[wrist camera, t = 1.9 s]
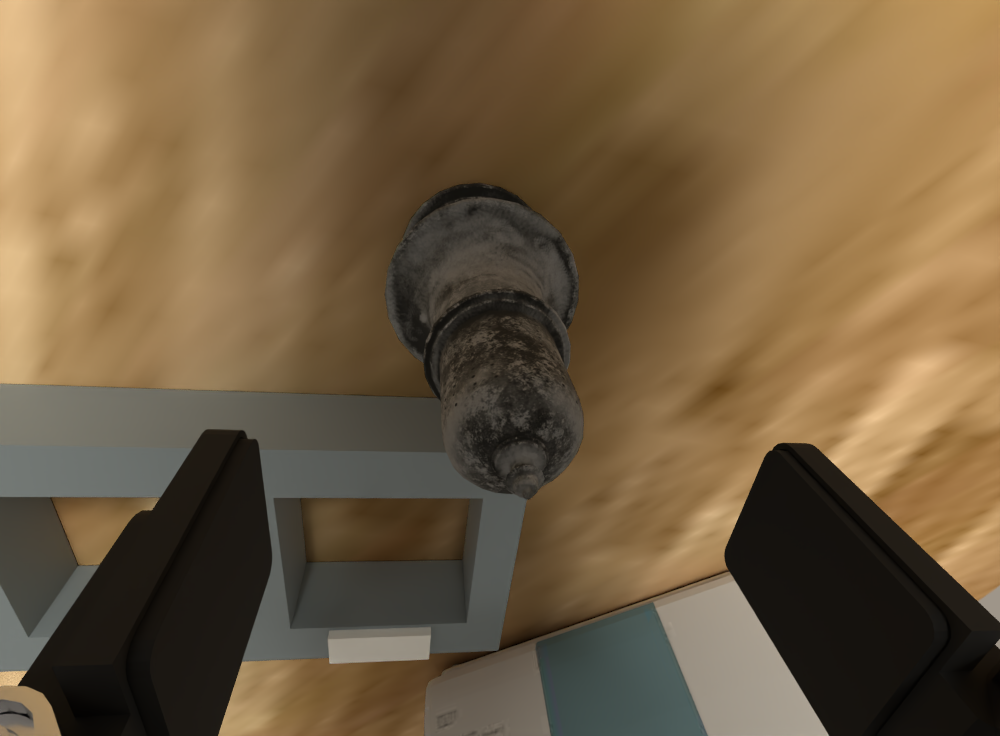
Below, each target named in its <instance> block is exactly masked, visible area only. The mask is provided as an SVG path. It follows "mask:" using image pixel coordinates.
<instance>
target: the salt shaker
mask: <svg viewBox="0 0 1000 736" xmlns="http://www.w3.org/2000/svg"><path fill="white" fill-rule="evenodd" d="M578 291H579V276H578V272H577V268H576V264H575V260H574V256H573V253H572V252H571V250H570V248H569V247H568V245H567V243H566V242H565V240H564V238H563V237H562V235H561V233H560V232H559V231H558V230H557V229H556V228H555V227H554V226H553V225H551V224H550V223H549V222H548V221H547V220H546V219H545V218H544V217H543V216H542V215H541V214H539V213H537V212H535V211H533V210H532V209H531V208H530V207H529V206H528V205H527V204H526V203H525V202H523V201H522V200H521V199H520V198H519V197H518V196H516V195H514V194H512V193H510V192H508V191H507V190H505V189H503V188H501V187H497V186H492V185H487V184H482V183H474V184H461V185H457V186H454V187H451V188H449V189H446V190H443V191H440V192H439V193H437V194H436V195H434V196H433V197H432V198H430V199H429V200H427V201H426V202H425V203H423V204H422V206H421V207H420V208H419V209H418V211H417V212H416V213H415V214H414V216H413V217H412V218H411V220H410V222H409V224H408V227H407V229H406V231H405V234H404V236H403V240H402V241H401V242H400V243H399V245H398V246H397V248H396V251H395V253H394V255H393V258H392V260H391V263H390V265H389V267H388V270H387V279H386V288H385V299H386V305H387V311H388V317H389V320H390V322H391V324H392V326H393V328H394V330H395V332H396V334H397V336H398V338H399V340H400V341H401V342H402V343H403V345H404V346H405V347H406V348H407V349H408V350H409V351H410V353H411V354H412V355H413V356H414V357H415V358H417V359H418V360H420V361H421V362H423V363H424V371H425V377H426V379H427V382H428V384H429V386H430V388H431V390H432V392H433V393H434V395H435V396H436V397H437V398H438V399H439V400H440V401H441V426H442V437H443V445H444V448H445V450H446V453H447V455H448V457H449V459H450V461H451V463H452V466H453V467H454V469H455V470H456V471H457V472H458V473H459V474H460V475H461V476H462V477H463V478H464V479H466V480H468V481H469V482H471V483H473V484H474V485H476V486H478V487H480V488H482V489H485V490H488V491H491V492H494V493H502V494H514V495H517V496H519V497H520V498H524V499H527V500H528V499H531V498H532V497H533V496H534V495H535V494H536V493H537V491H538V490H539V489H540V488H541V487H542V486H544V485H546V484H547V483H549V482H551V481H553V480H554V479H555V478H556V477H557V476H559V475H560V474H561V473H562V472H563V471H564V470H565V469H566V468H567V466H568V465H569V464H570V462H571V461H572V459H573V458H574V457H575V455H576V454H577V452H578V450H579V447H580V444H581V442H582V439H583V427H584V419H583V411H582V407H581V404H580V400H579V397H578V395H577V393H576V390H575V388H574V386H573V383H572V381H571V379H570V377H569V374H568V372H567V369H568V366H569V363H570V346H571V344H570V340H569V337H568V333H567V329H568V328H569V326H570V324H571V323H572V319H573V316H574V313H575V310H576V306H577V303H578Z"/></svg>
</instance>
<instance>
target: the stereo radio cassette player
mask: <svg viewBox="0 0 1000 736" xmlns="http://www.w3.org/2000/svg"><path fill="white" fill-rule="evenodd" d="M424 736H829V735H828V733H827V731H826V730H825V728H824V727H823V725H822V723H821V722H820V720H819V718H818V717H817V715H816V713H815V712H814V710H813V708H812V707H811V705H810V703H809V702H808V700H807V698H806V697H805V695H804V694H803V692H802V690H801V689H800V687H799V685H798V684H797V682H796V680H795V679H794V677H793V675H792V674H791V672H790V670H789V669H788V667H787V666H786V664H785V662H784V661H783V659H782V657H781V656H780V654H779V652H778V651H777V649H776V647H775V646H774V644H773V642H772V641H771V639H770V638H769V636H768V634H767V633H766V631H765V629H764V628H763V626H762V624H761V623H760V621H759V619H758V618H757V616H756V614H755V613H754V611H753V610H752V608H751V606H750V605H749V603H748V601H747V600H746V598H745V596H744V595H743V593H742V591H741V590H740V588H739V586H738V585H737V583H736V581H735V580H734V578H733V577H732V575H731V573H730V572H726V573H723V574H720V575H717V576H714V577H711V578H708V579H706V580H703V581H700V582H697V583H694V584H691V585H688V586H685V587H682V588H680V589H677V590H674V591H671V592H668V593H665V594H662V595H659V596H657V597H654V598H651V599H648V600H645V601H642V602H639V603H636V604H633V605H631V606H628V607H625V608H622V609H619V610H616V611H613V612H610V613H607V614H605V615H602V616H599V617H596V618H593V619H590V620H587V621H584V622H581V623H579V624H576V625H573V626H570V627H567V628H564V629H561V630H558V631H556V632H553V633H550V634H547V635H544V636H541V637H538V638H535V639H532V640H530V641H527V642H524V643H521V644H518V645H515V646H512V647H509V648H506V649H504V650H501V651H498V652H495V653H492V654H489V655H486V656H483V657H480V658H478V659H475V660H472V661H469V662H466V663H463V664H460V665H453V666H452V667H451V668H449V669H446V670H444V671H443V672H442V674H441V676H439V677H436V678H434V679H432V680H431V681H430V682H428V685H427V688H426V697H425V720H424Z"/></svg>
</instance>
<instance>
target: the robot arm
mask: <svg viewBox="0 0 1000 736" xmlns="http://www.w3.org/2000/svg"><path fill="white" fill-rule="evenodd" d="M724 556H725V563H726V566H727V568H728V570H729V572H730V573H731V575H732V577H733V578H734V580H735V581H736V583H737V585H738V586H739V588H740V590H741V591H742V593H743V595H744V596H745V598H746V600H747V601H748V603H749V605H750V606H751V608H752V610H753V611H754V613H755V614H756V616H757V618H758V619H759V621H760V623H761V624H762V626H763V628H764V629H765V631H766V633H767V634H768V636H769V638H770V639H771V641H772V642H773V644H774V646H775V647H776V649H777V651H778V652H779V654H780V656H781V657H782V659H783V661H784V662H785V664H786V666H787V667H788V669H789V670H790V672H791V674H792V675H793V677H794V679H795V680H796V682H797V684H798V685H799V687H800V689H801V690H802V692H803V694H804V695H805V697H806V698H807V700H808V702H809V703H810V705H811V707H812V708H813V710H814V712H815V713H816V715H817V717H818V718H819V720H820V722H821V723H822V725H823V727H824V728H825V730H826V731H827V733H828V735H829V736H1000V649H999V648H998V647H997V646H996V645H995V644H996V643H997V641H998V640H999V639H1000V622H999V621H998V620H997V619H995V618H994V617H993V616H992V615H991V614H990V613H989V612H988V611H987V610H986V609H985V608H984V607H983V606H982V605H981V604H980V603H979V602H978V601H977V600H976V599H975V598H974V597H972V596H971V595H970V594H969V593H968V592H967V591H966V590H965V589H964V588H963V587H962V586H961V585H960V584H959V583H958V582H957V581H956V580H955V579H954V578H953V577H952V576H950V575H949V574H948V573H947V572H946V571H945V570H944V569H943V568H942V567H941V566H940V565H939V564H938V563H937V562H936V561H935V560H934V559H933V558H932V557H931V556H930V555H928V554H927V553H926V552H925V551H924V550H923V549H922V548H921V547H920V546H919V545H918V544H917V543H916V542H915V541H914V540H913V539H912V538H911V537H910V536H909V535H908V534H906V533H905V532H904V531H903V530H902V529H901V528H900V527H899V526H898V525H897V524H896V523H895V522H894V521H893V520H892V519H891V518H890V517H889V516H888V515H887V514H886V513H885V512H883V511H882V510H881V509H880V508H879V507H878V506H877V505H876V504H875V503H874V502H873V501H872V500H871V499H870V498H869V497H868V496H867V495H866V494H865V493H864V492H863V491H861V490H860V489H859V488H858V487H857V486H856V485H855V484H854V483H853V482H852V481H851V480H850V479H849V478H848V477H847V476H846V475H845V474H844V473H843V472H842V471H841V470H839V469H838V468H837V467H836V466H835V465H834V464H833V463H832V462H831V461H830V460H829V459H828V458H827V457H826V456H825V455H824V454H823V453H822V452H821V451H820V450H819V449H817V448H816V447H815V446H813V445H811V444H806V443H780V444H777V445H776V446H775V447H774V448H773V450H772V451H769V452H768V453H767V454H766V456H765V457H764V460H763V462H762V464H761V467H760V469H759V471H758V474H757V476H756V478H755V481H754V483H753V485H752V488H751V490H750V492H749V495H748V497H747V499H746V502H745V504H744V506H743V509H742V511H741V513H740V516H739V518H738V520H737V523H736V525H735V527H734V530H733V532H732V534H731V537H730V539H729V541H728V544H727V546H726V549H725V555H724ZM271 567H272V547H271V539H270V531H269V523H268V515H267V507H266V499H265V491H264V483H263V475H262V467H261V459H260V451H259V444H258V441H257V440H256V439H248V438H247V435H246V433H245V431H243V430H224V429H207V430H205V431H204V432H203V433H202V434H201V436H200V437H199V439H198V440H197V442H196V443H195V445H194V446H193V448H192V450H191V451H190V453H189V454H188V456H187V457H186V459H185V460H184V462H183V464H182V465H181V467H180V468H179V470H178V471H177V473H176V474H175V476H174V477H173V479H172V481H171V482H170V484H169V485H168V487H167V488H166V490H165V491H164V493H163V495H162V496H161V498H160V499H159V501H158V502H157V504H156V505H155V507H154V508H153V510H152V511H141V512H139V513H137V514H136V515H135V516H134V517H133V518H132V519H131V520H130V522H129V523H128V524H127V526H126V527H125V529H124V530H123V532H122V533H121V535H120V536H119V537H118V539H117V540H116V542H115V543H114V545H113V546H112V548H111V549H110V551H109V552H108V554H107V555H106V557H105V558H104V559H103V561H102V562H101V564H100V565H99V567H98V568H97V570H96V571H95V573H94V574H93V576H92V577H91V579H90V580H89V582H88V583H87V584H86V586H85V587H84V589H83V590H82V592H81V593H80V595H79V596H78V598H77V599H76V601H75V602H74V604H73V605H72V606H71V608H70V609H69V611H68V612H67V614H66V615H65V617H64V618H63V620H62V621H61V623H60V624H59V626H58V627H57V629H56V630H55V631H54V633H53V634H52V636H51V637H50V639H49V640H48V642H47V643H46V645H45V646H44V648H43V649H42V651H41V652H40V653H39V655H38V656H37V658H36V659H35V661H34V662H33V664H32V665H31V667H30V668H29V670H28V671H27V673H26V674H25V676H24V677H23V678H22V680H21V681H20V683H19V684H18V686H1V687H0V736H218V734H219V731H220V728H221V725H222V721H223V718H224V715H225V712H226V709H227V706H228V703H229V700H230V697H231V694H232V691H233V687H234V684H235V681H236V678H237V675H238V672H239V669H240V666H241V663H242V660H243V657H244V654H245V650H246V647H247V644H248V641H249V638H250V635H251V632H252V629H253V626H254V623H255V620H256V616H257V613H258V610H259V607H260V604H261V601H262V598H263V595H264V592H265V589H266V586H267V583H268V579H269V576H270V573H271Z"/></svg>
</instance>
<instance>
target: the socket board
mask: <svg viewBox="0 0 1000 736" xmlns="http://www.w3.org/2000/svg"><path fill="white" fill-rule="evenodd" d="M207 429H224V430H243V431H245V433H246V435H247V438H248V439H256V440H257V441H258V444H259V451H260V459H261V467H262V475H263V483H264V491H265V499H266V507H267V515H268V523H269V531H270V539H271V547H272V567H271V573H270V576H269V579H268V583H267V586H266V589H265V592H264V595H263V598H262V601H261V604H260V607H259V610H258V613H257V616H256V620H255V623H254V626H253V629H252V632H251V635H250V638H249V641H248V644H247V647H246V650H245V654H244V657H243V660H242V661H266V660H290V659H313V658H329V663H330V664H337V663H360V662H382V661H405V660H428V659H429V654H432V653H456V652H480V651H498V650H499V645H500V639H501V634H502V629H503V623H504V618H505V613H506V607H507V602H508V597H509V591H510V586H511V581H512V576H513V570H514V565H515V560H516V554H517V549H518V544H519V538H520V533H521V528H522V522H523V517H524V512H525V507H526V501H527V499H524V498H520V497H519V496H517V495H514V494H502V493H494V492H491V491H488V490H485V489H482V488H480V487H478V486H476V485H474V484H473V483H471V482H469V481H468V480H466V479H464V478H463V477H462V476H461V475H460V474H459V473H458V472H457V471H456V470H455V469H454V467H453V466H452V463H451V461H450V459H449V457H448V455H447V453H446V450H445V448H444V445H443V437H442V426H441V401H440V400H439V399H438V398H420V397H390V396H359V395H329V394H298V393H268V392H237V391H207V390H176V389H146V388H115V387H85V386H54V385H24V384H0V672H5V671H28V670H29V668H30V667H31V665H32V664H33V662H34V661H35V659H36V658H37V656H38V655H39V653H40V652H41V651H42V649H43V648H44V646H45V645H46V643H47V642H48V640H49V639H50V637H51V636H52V634H53V633H54V631H55V630H56V629H57V627H58V626H59V624H60V623H61V621H62V620H63V618H64V617H65V615H66V614H67V612H68V611H69V609H70V608H71V606H72V605H73V604H74V602H75V601H76V599H77V598H78V596H79V595H80V593H81V592H82V590H83V589H84V587H85V586H86V584H87V583H88V582H89V580H90V579H91V577H92V576H93V574H94V573H95V571H96V570H97V568H98V567H99V565H95V566H78V564H77V562H76V559H75V557H74V555H73V552H72V550H71V547H70V545H69V542H68V540H67V538H66V535H65V533H64V530H63V528H62V525H61V523H60V520H59V518H58V516H57V513H56V511H55V508H54V506H53V503H52V501H51V499H50V497H161V496H162V495H163V493H164V491H165V490H166V488H167V487H168V485H169V484H170V482H171V481H172V479H173V477H174V476H175V474H176V473H177V471H178V470H179V468H180V467H181V465H182V464H183V462H184V460H185V459H186V457H187V456H188V454H189V453H190V451H191V450H192V448H193V446H194V445H195V443H196V442H197V440H198V439H199V437H200V436H201V434H202V433H203V432H204V431H205V430H207ZM300 498H470V500H469V509H468V518H467V526H466V535H465V543H464V552H463V560H431V561H364V562H307V561H306V551H305V540H304V530H303V520H302V509H301V499H300Z"/></svg>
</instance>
